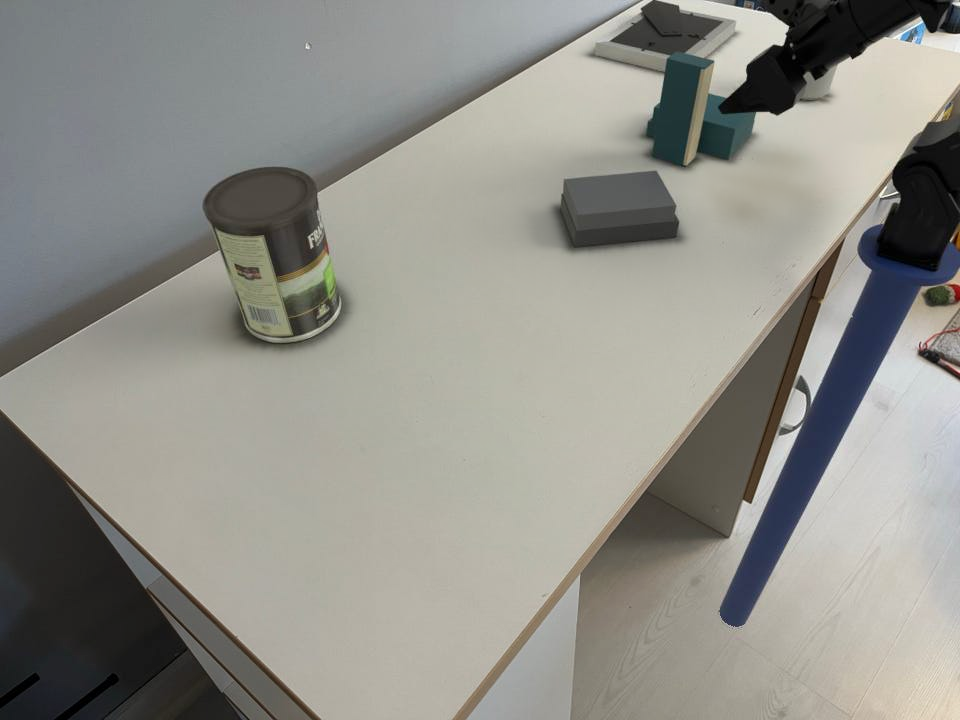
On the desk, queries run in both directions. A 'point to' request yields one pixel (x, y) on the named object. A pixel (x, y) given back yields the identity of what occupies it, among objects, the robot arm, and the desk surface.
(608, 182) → the grey books
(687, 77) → the teal book
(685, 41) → the picture frame
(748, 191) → the desk surface
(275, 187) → the coffee can
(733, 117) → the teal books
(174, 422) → the desk surface
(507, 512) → the desk surface
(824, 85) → the beverage can
